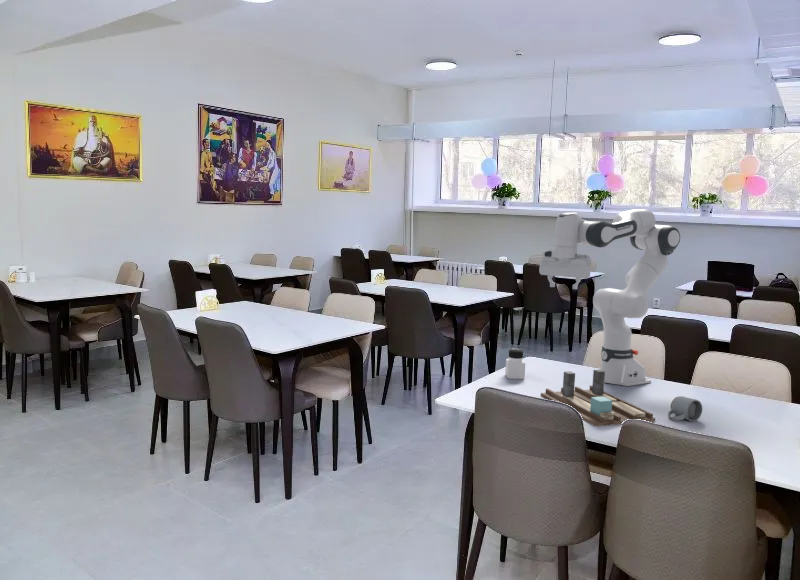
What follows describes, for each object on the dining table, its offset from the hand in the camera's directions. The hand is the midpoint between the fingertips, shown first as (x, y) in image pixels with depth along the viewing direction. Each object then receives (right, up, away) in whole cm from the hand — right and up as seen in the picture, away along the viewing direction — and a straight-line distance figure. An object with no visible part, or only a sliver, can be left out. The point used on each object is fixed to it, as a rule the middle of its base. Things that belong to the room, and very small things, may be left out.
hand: (563, 287), depth 257 cm
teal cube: (+4, -43, -35) cm, 56 cm away
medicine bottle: (-16, -38, +19) cm, 46 cm away
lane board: (+6, -44, -21) cm, 49 cm away
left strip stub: (+11, -42, -14) cm, 46 cm away
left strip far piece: (+16, -44, -28) cm, 54 cm away
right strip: (+1, -43, -26) cm, 51 cm away
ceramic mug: (+34, -46, -31) cm, 65 cm away
